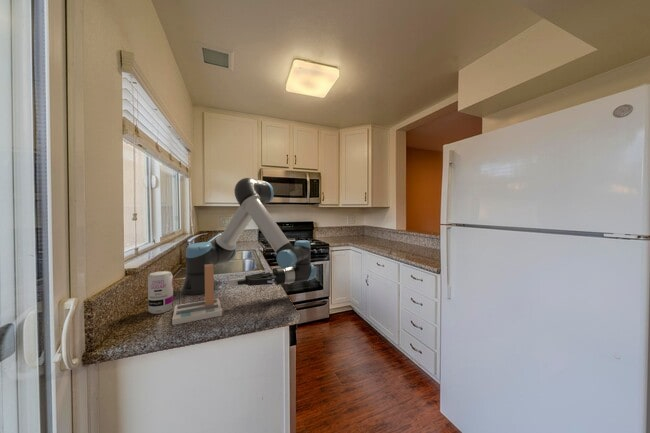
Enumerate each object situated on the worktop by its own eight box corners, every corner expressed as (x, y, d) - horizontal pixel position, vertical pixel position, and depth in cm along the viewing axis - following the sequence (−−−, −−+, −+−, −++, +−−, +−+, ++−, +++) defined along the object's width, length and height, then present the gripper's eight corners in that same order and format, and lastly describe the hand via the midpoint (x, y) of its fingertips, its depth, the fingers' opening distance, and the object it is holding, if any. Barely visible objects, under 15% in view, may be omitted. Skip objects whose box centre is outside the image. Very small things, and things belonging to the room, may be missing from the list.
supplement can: (169, 304, 101) (168, 269, 100) (176, 309, 95) (175, 272, 95) (145, 310, 94) (145, 273, 94) (151, 316, 89) (151, 277, 89)
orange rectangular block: (204, 304, 95) (204, 264, 95) (213, 302, 97) (212, 263, 96) (205, 307, 92) (205, 266, 91) (213, 306, 93) (213, 265, 93)
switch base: (175, 310, 95) (175, 302, 95) (218, 302, 102) (218, 296, 102) (172, 325, 82) (172, 316, 82) (222, 315, 90) (222, 307, 90)
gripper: (288, 287, 104) (231, 297, 92) (279, 280, 115) (226, 287, 103) (288, 270, 103) (230, 278, 92) (279, 264, 115) (226, 270, 103)
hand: (228, 283), depth 98 cm, fingers closed
